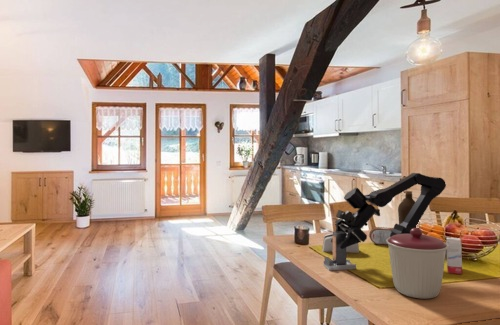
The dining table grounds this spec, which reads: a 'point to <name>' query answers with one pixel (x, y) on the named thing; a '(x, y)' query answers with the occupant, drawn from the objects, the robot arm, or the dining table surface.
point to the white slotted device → (329, 245)
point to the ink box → (454, 256)
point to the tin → (380, 235)
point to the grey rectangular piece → (330, 266)
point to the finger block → (339, 253)
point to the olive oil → (405, 206)
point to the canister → (417, 263)
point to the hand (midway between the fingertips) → (336, 245)
